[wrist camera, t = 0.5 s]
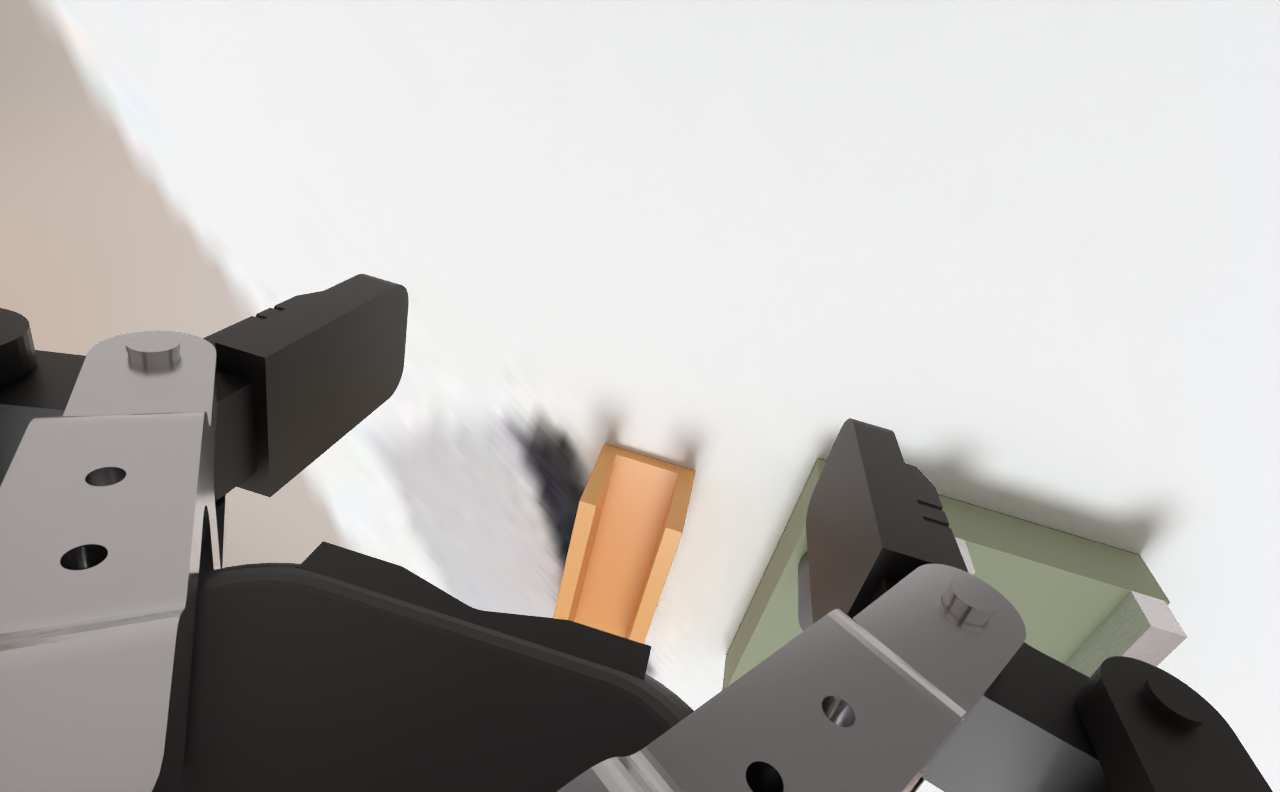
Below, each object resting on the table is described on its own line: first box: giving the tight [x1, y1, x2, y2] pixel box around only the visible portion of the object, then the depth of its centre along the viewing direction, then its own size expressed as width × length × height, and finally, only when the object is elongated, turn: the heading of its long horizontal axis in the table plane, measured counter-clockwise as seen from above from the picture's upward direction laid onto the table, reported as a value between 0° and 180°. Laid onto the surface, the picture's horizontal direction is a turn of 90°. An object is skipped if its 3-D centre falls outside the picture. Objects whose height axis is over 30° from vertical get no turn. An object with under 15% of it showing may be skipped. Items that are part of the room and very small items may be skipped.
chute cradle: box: [955, 537, 1187, 677], centre depth 33 cm, size 16×10×2 cm, turn 167°
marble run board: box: [722, 459, 1170, 690], centre depth 34 cm, size 16×16×6 cm
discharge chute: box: [553, 444, 695, 644], centre depth 37 cm, size 14×5×5 cm, turn 167°
